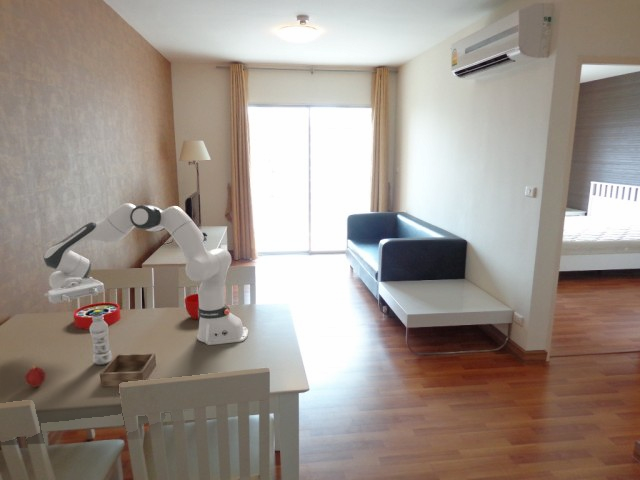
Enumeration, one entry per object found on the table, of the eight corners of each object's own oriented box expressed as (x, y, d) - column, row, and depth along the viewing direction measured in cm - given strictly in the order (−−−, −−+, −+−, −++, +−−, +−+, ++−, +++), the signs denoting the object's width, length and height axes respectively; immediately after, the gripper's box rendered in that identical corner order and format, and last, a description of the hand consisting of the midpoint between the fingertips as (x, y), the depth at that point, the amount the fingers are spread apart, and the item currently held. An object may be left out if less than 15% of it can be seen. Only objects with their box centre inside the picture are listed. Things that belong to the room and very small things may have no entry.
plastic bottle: (105, 367, 163) (99, 318, 158) (89, 366, 164) (83, 317, 160) (116, 359, 169) (111, 312, 165) (101, 358, 170) (95, 311, 166)
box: (156, 365, 165) (155, 353, 164) (143, 385, 151) (142, 372, 150) (117, 366, 164) (116, 354, 163) (101, 386, 150) (99, 374, 148)
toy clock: (98, 300, 219) (128, 305, 213) (99, 311, 220) (129, 316, 214) (63, 314, 201) (95, 320, 194) (64, 325, 202) (97, 331, 195)
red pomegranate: (33, 382, 152) (30, 362, 151) (50, 381, 153) (47, 361, 151) (23, 391, 147) (20, 370, 145) (41, 390, 147) (37, 369, 145)
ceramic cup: (222, 311, 219) (221, 293, 217) (200, 323, 204) (199, 304, 202) (202, 307, 224) (201, 289, 222) (180, 319, 209) (178, 300, 207)
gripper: (41, 286, 170) (53, 295, 161) (95, 275, 185) (108, 283, 176) (43, 301, 171) (55, 311, 163) (96, 289, 186) (110, 297, 178)
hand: (83, 296), depth 170 cm, fingers open, 8 cm apart
